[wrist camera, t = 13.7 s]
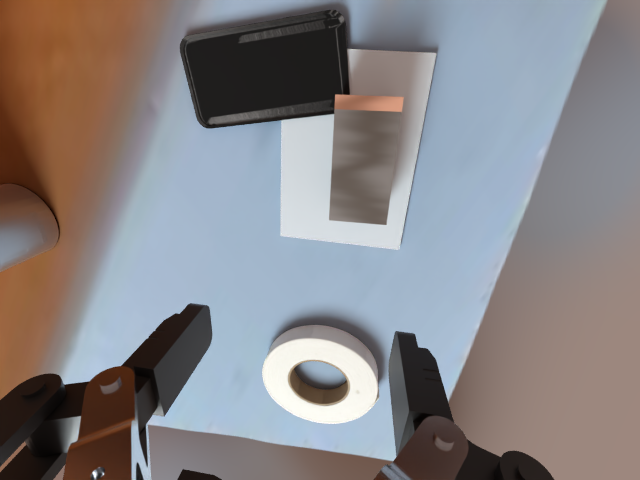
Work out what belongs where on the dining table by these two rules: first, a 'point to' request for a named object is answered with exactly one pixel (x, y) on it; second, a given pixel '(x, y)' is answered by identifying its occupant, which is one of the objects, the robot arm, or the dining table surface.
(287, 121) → the mat
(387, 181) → the block
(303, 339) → the roll of tape
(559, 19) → the dining table surface
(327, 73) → the phone
